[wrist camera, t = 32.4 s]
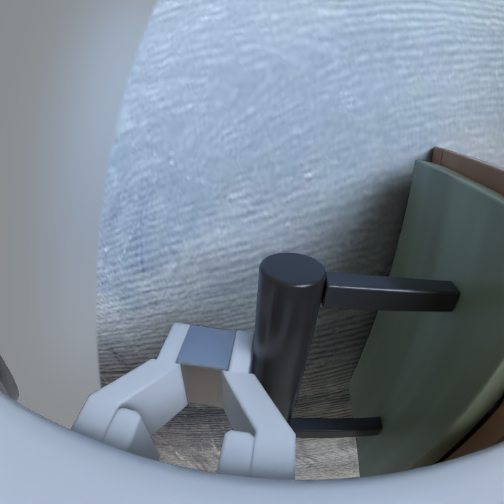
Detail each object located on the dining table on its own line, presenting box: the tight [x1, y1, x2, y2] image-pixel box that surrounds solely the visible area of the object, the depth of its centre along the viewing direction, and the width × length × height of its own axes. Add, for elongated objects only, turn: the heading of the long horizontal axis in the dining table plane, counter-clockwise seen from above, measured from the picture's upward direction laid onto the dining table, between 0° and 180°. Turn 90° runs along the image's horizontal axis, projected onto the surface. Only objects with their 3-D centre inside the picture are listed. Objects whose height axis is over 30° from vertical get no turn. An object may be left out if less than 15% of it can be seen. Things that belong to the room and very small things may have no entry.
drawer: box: [252, 160, 504, 477], centre depth 8 cm, size 18×11×7 cm, turn 87°
